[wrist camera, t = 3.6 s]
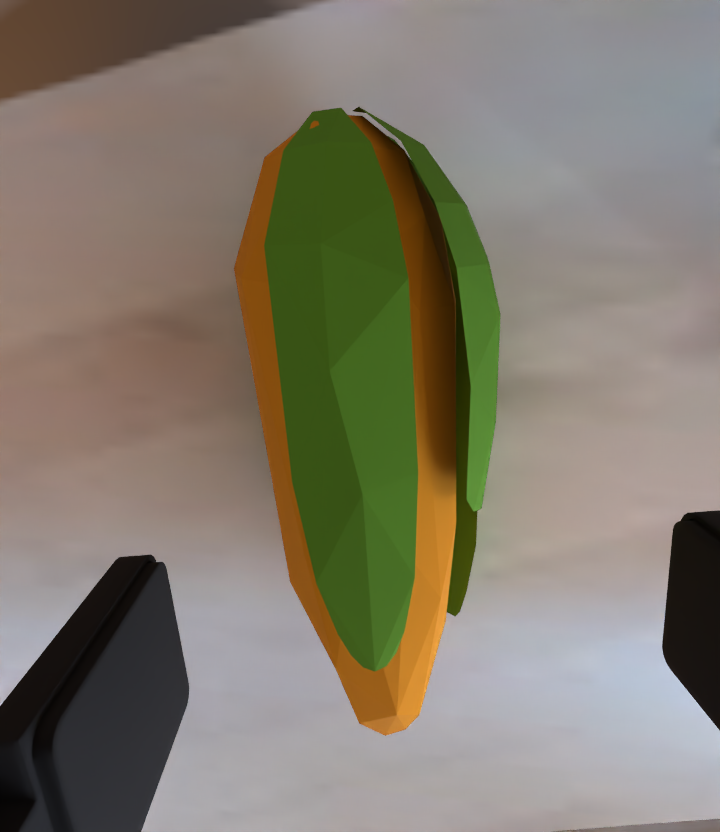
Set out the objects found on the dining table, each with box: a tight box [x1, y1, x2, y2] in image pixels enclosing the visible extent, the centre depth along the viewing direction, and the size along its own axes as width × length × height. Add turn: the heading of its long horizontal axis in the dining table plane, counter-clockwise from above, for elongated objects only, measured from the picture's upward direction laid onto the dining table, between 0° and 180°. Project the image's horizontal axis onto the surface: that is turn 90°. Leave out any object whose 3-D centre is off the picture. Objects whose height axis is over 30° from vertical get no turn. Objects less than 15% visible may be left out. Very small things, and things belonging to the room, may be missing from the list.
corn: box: [234, 107, 500, 736], centre depth 16 cm, size 7×8×20 cm
